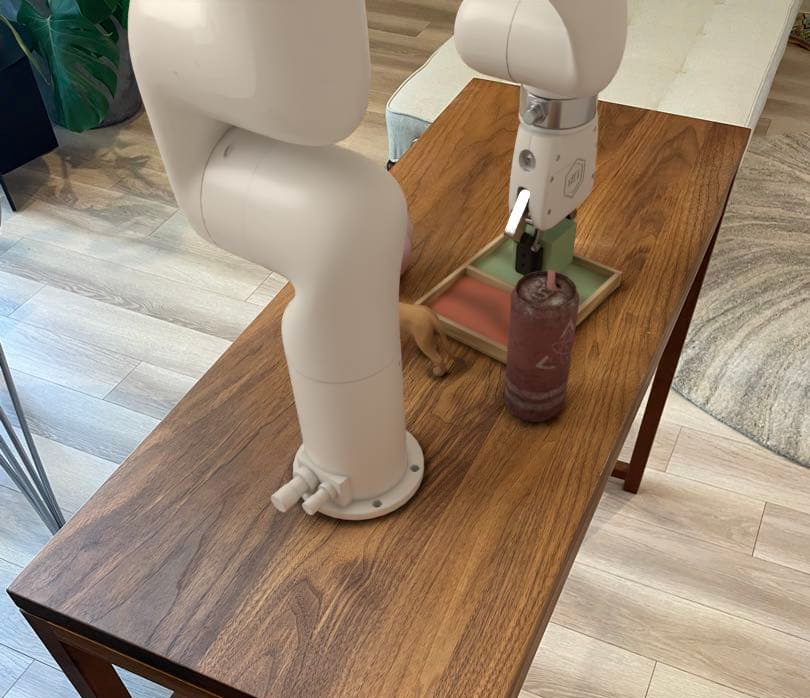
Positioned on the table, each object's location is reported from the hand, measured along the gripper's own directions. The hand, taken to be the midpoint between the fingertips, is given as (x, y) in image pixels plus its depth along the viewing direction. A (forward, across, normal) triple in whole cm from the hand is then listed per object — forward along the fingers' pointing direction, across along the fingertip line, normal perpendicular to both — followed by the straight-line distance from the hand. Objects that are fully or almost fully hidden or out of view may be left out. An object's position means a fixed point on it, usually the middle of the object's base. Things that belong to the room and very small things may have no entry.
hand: (542, 261), depth 95 cm
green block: (0, 0, 0) cm, 0 cm away
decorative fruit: (+3, -11, +15) cm, 19 cm away
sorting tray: (+3, -5, 0) cm, 5 cm away
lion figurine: (+3, -20, +5) cm, 21 cm away
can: (+3, -17, -11) cm, 21 cm away
